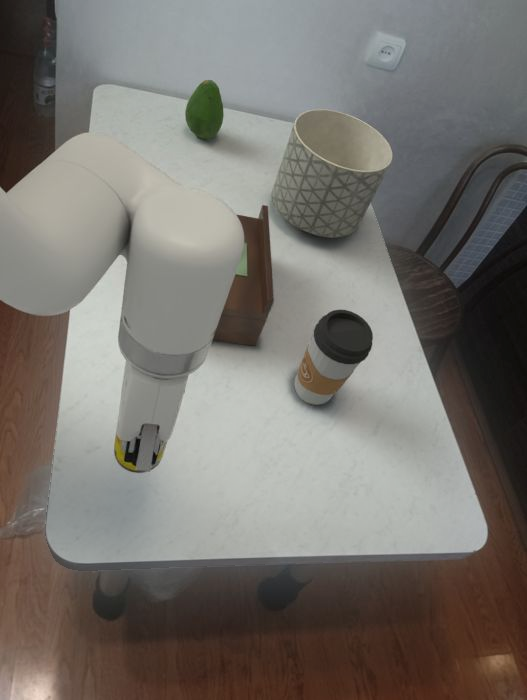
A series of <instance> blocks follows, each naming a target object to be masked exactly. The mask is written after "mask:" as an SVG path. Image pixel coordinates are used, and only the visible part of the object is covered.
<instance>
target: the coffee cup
mask: <svg viewBox="0 0 527 700" xmlns="http://www.w3.org/2000/svg"><path fill="white" fill-rule="evenodd" d="M373 334H374V333H373V330H372V328H371V325H369V323H368V322H367V321H366V320H365V319H364V318H363V317H362V316H361V315H360V314H358V313H355V312H353V311H351V310H347V309H334V310H331V311H329V312H328V313H326V314H325V315H323V316H322V317H321V318H320V319H319V321H318V322H317V323H316V324H315V326H314V329H313V334H312V337H311V339H310V342H309V344H308V345H307V348H306V350H305V352H304V355H303V357H302V360H301V362H300V365H299V367H298V370H297V372H296V374H295V375H296V376H295V378H294V383H293V385H294V390H295V392H296V394H297V396H298V397H299V398H300V399H301V401H303V402H304V403H307V404H309V405H312V406H317V405H318V406H319V405H323V404H326V403H327V402H329V401H330V400H331V399H332V398H333V396H334V395H335V394H336V393H337V392H338V391H339V390H340V389H341V387H342V386H343V385H344V384H345V383H346V382H347V381H348V379H349V378H350V377H351V376H352V374H354V371H356V369H357V367H358V366H359V365H360V364H361V363H362V362H363V361H365V360H366V359H367V358H368V356H369V354H370V352H371V351H372V348H373V339H374V335H373Z"/></svg>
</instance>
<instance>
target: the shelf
mask: <svg viewBox="0 0 527 700" xmlns="http://www.w3.org/2000/svg"><path fill="white" fill-rule="evenodd" d="M236 215H237V217H238V218H239V220H240V222H241V224H242V228H243V231H244V249H243V252H242V256H241V259H240V262H239V265H238V268H237V271H236V274H235V277H234V280H233V283H232V285H231V288H230V291H229V294H228V297H227V300H226V303H225V305H224V308H223V311H222V314H221V316H220V319H219V322H218V325H217V328H216V331H215V334H214V337H213V340H212V342H213V341H214V342H222V343H230V344H235V345H236V344H237V345H245V346H251V347H256V346H257V344H258V342H259V339H260V337H261V334H262V332H263V329H264V327H265V324H266V322H267V320H268V317H269V315H270V312H271V309H272V307H273V305H274V302H275V298H274V296H275V295H274V282H273V281H274V279H273V264H272V250H271V249H272V248H271V231H270V217H269V206H268V205H266V204H262V205H261V207H260V211H259V214H258V218H257V217H252V216H246V215H241V214H238V213H237V214H236Z"/></svg>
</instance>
